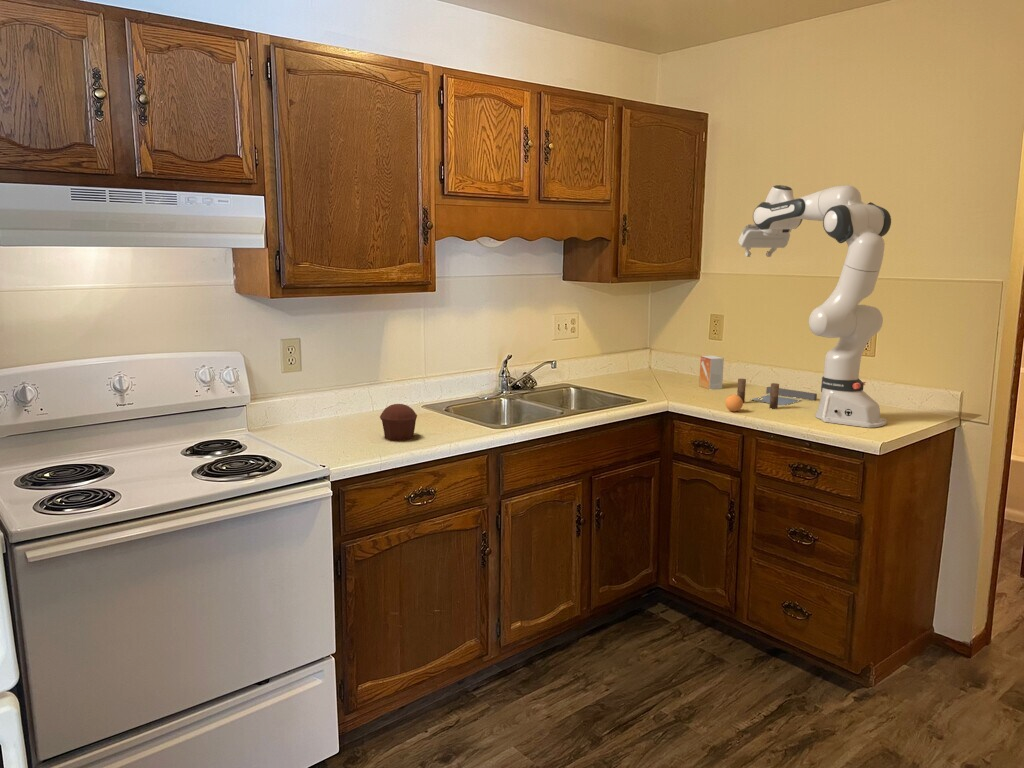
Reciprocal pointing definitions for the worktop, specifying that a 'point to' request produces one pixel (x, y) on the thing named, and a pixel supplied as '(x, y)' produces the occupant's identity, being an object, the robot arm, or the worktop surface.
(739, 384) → the post
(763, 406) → the worktop surface
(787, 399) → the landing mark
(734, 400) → the ball
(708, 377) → the small box
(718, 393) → the worktop surface
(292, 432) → the worktop surface
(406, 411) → the muffin
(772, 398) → the post
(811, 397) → the wall
